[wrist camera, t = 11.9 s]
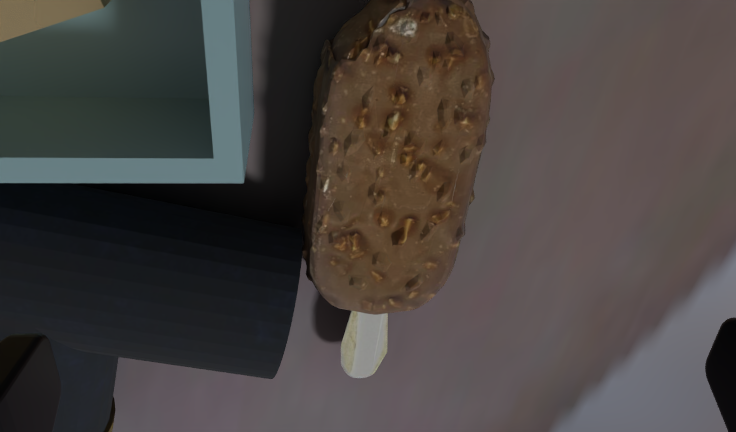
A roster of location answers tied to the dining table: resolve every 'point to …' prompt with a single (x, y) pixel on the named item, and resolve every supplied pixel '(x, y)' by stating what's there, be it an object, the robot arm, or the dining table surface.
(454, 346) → the dining table surface
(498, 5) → the dining table surface
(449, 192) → the ice cream bar
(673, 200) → the dining table surface
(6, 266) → the pipe connector
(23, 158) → the bin
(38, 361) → the robot arm
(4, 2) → the gold trophy
